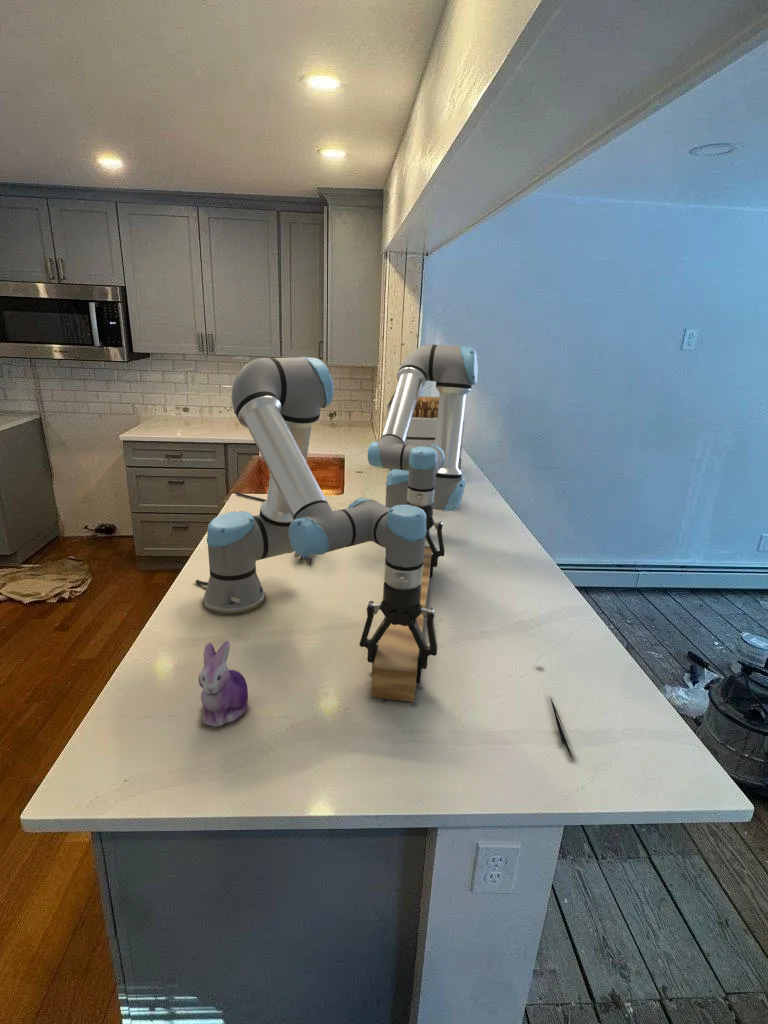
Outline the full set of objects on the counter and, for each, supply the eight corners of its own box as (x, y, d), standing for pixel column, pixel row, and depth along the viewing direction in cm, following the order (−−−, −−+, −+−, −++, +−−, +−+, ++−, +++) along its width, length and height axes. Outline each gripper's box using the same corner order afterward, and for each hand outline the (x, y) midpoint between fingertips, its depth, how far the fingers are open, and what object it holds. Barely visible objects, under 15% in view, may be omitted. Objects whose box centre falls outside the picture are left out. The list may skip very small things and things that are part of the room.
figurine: (205, 736, 103) (200, 666, 98) (195, 702, 111) (189, 636, 106) (256, 721, 107) (254, 653, 102) (243, 690, 116) (239, 626, 111)
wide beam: (402, 565, 174) (404, 543, 172) (431, 567, 173) (432, 546, 171) (371, 697, 115) (372, 667, 112) (413, 702, 114) (416, 672, 112)
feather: (540, 672, 128) (545, 666, 127) (572, 762, 101) (579, 755, 101) (533, 668, 128) (539, 662, 127) (564, 758, 101) (571, 750, 100)
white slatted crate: (382, 463, 289) (386, 382, 275) (445, 464, 293) (451, 384, 279) (390, 482, 257) (394, 392, 243) (460, 483, 261) (468, 394, 247)
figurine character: (315, 569, 173) (320, 545, 186) (315, 547, 170) (319, 524, 183) (293, 568, 173) (299, 544, 186) (293, 547, 169) (299, 524, 183)
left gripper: (346, 585, 110) (343, 681, 118) (456, 597, 108) (446, 694, 116) (353, 568, 117) (349, 660, 125) (457, 579, 115) (447, 672, 123)
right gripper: (380, 503, 157) (377, 576, 165) (458, 510, 155) (451, 584, 162) (384, 495, 164) (380, 565, 172) (458, 501, 161) (452, 572, 169)
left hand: (396, 676), depth 121 cm, fingers closed on wide beam, 9 cm apart
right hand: (415, 574), depth 167 cm, fingers closed on wide beam, 9 cm apart
